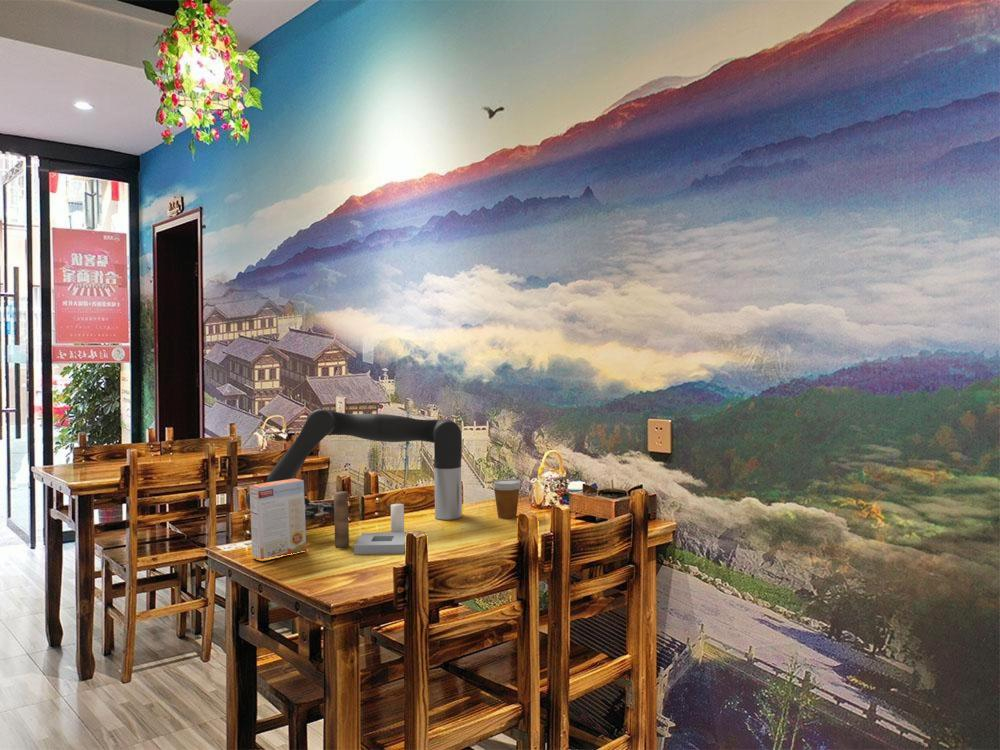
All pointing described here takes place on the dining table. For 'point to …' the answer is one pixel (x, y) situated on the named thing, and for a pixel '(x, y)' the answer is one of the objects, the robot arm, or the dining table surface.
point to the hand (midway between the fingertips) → (325, 513)
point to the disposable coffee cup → (506, 497)
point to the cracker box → (277, 518)
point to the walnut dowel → (341, 519)
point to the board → (380, 543)
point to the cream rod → (397, 518)
